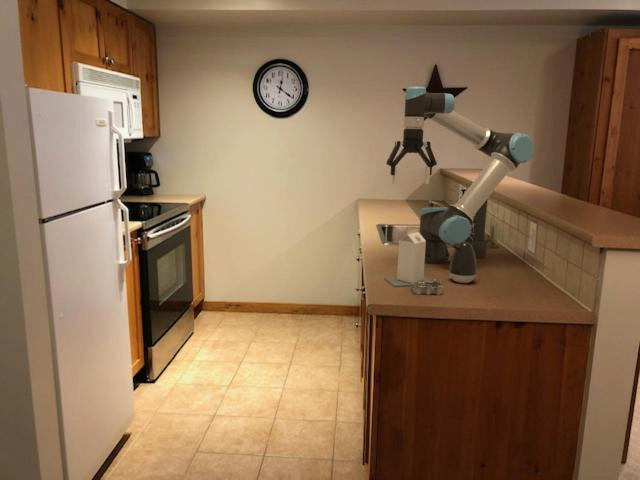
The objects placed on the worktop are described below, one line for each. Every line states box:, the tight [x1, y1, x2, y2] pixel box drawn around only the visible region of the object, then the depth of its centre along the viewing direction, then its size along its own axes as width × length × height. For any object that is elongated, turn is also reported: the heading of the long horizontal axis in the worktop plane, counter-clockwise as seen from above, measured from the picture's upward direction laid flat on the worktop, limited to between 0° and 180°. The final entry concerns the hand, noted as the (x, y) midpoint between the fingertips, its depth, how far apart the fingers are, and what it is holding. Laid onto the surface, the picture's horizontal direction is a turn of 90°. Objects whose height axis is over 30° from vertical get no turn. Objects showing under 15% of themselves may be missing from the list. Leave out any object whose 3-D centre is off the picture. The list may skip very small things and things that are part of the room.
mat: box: [383, 275, 432, 288], centre depth 199 cm, size 16×10×1 cm, turn 104°
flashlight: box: [470, 197, 489, 260], centre depth 238 cm, size 7×28×7 cm
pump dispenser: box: [448, 241, 478, 284], centre depth 199 cm, size 10×10×15 cm
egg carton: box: [411, 278, 444, 296], centre depth 187 cm, size 11×8×4 cm
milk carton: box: [396, 228, 426, 283], centre depth 197 cm, size 7×7×19 cm
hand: (410, 183), depth 209 cm, fingers open, 13 cm apart
